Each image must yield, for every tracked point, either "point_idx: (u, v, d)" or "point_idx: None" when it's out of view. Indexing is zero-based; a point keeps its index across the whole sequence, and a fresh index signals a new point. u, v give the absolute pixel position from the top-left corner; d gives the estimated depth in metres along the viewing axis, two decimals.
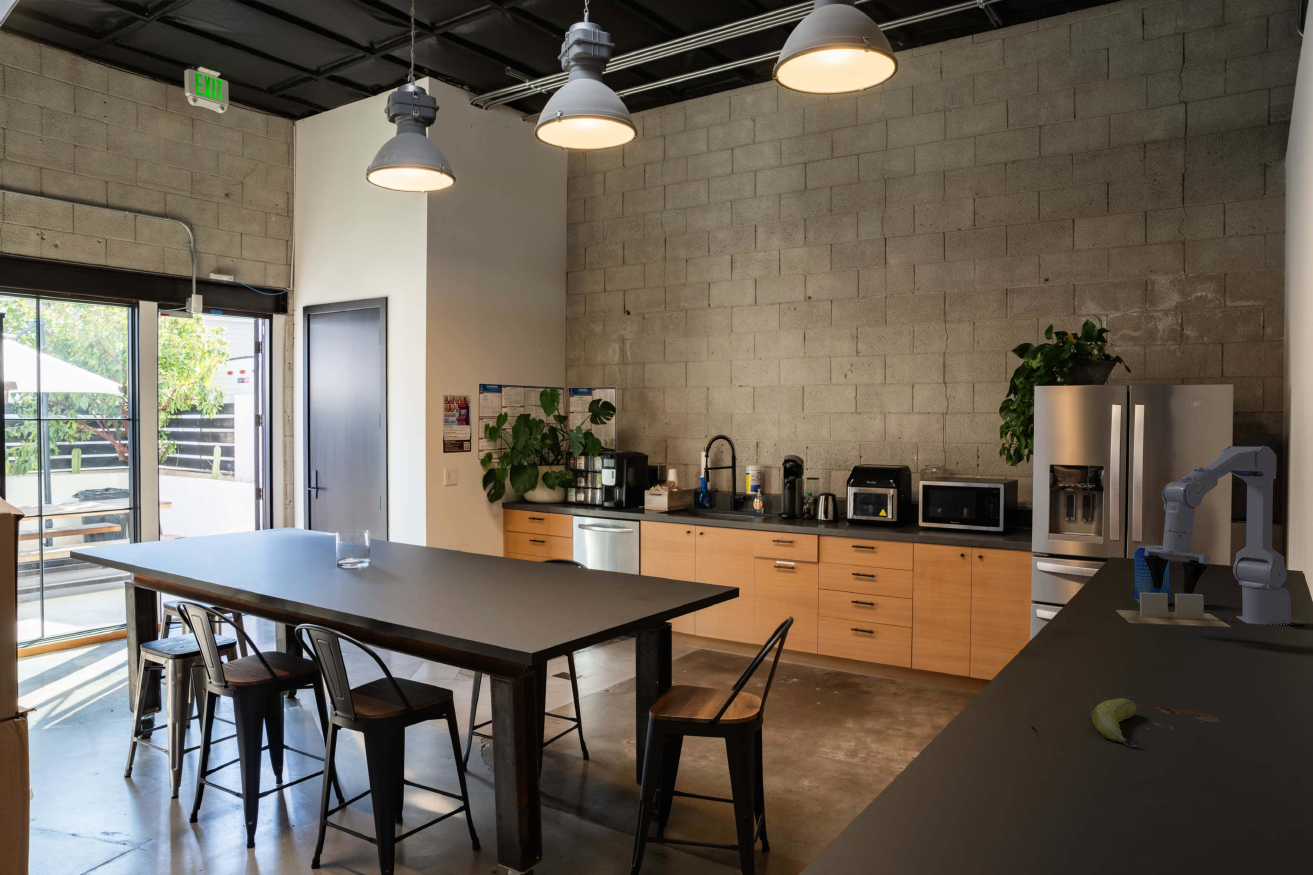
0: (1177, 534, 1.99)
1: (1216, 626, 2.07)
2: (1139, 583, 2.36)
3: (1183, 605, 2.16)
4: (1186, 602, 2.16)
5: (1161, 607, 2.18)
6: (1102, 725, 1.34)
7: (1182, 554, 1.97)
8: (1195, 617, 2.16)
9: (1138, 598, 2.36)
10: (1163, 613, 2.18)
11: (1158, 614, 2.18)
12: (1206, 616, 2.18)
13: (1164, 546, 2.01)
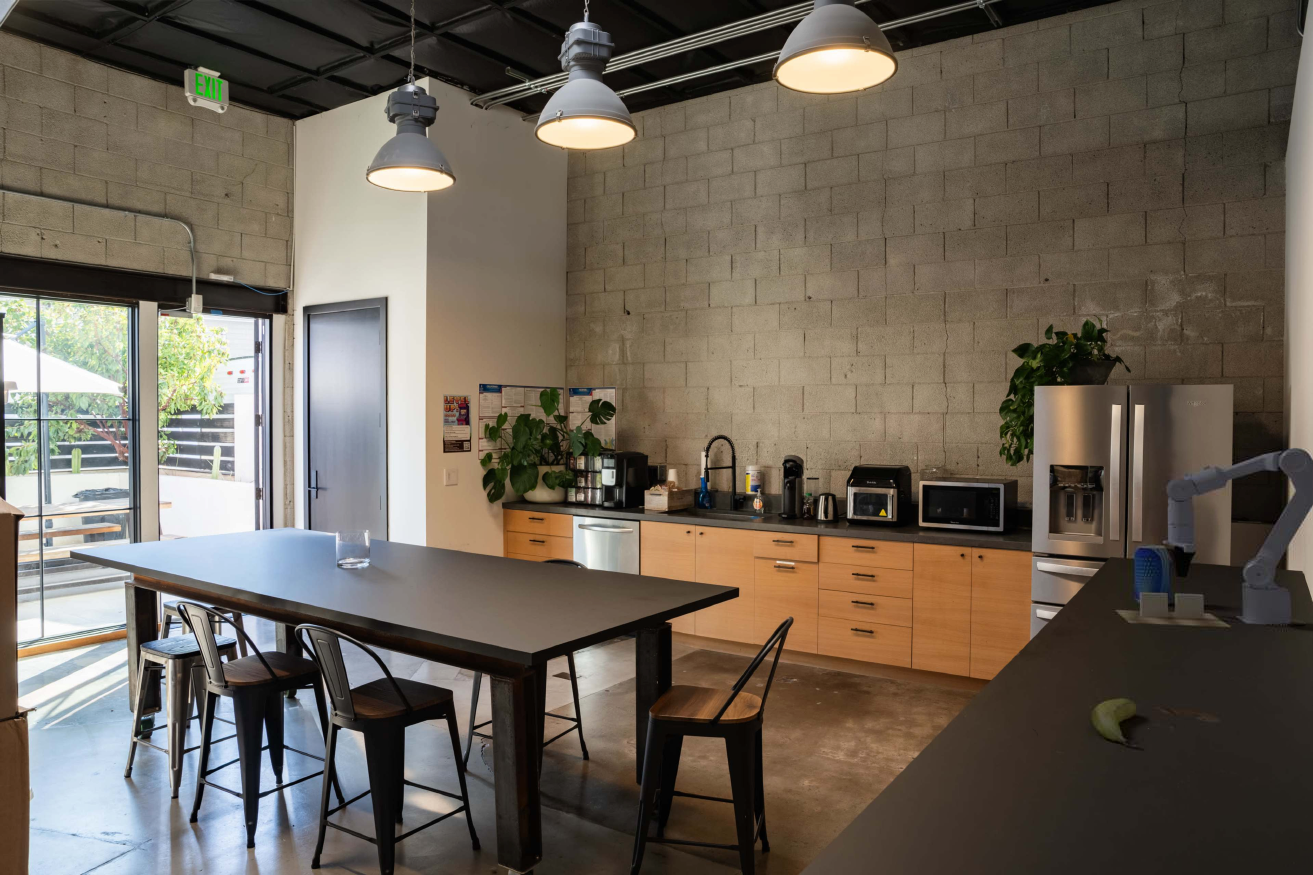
0: (1172, 526, 2.22)
1: (1216, 626, 2.07)
2: (1139, 583, 2.36)
3: (1183, 605, 2.16)
4: (1186, 602, 2.16)
5: (1161, 607, 2.18)
6: (1102, 725, 1.34)
7: (1175, 544, 2.20)
8: (1195, 617, 2.16)
9: (1138, 598, 2.36)
10: (1163, 613, 2.18)
11: (1158, 614, 2.18)
12: (1206, 616, 2.18)
13: None
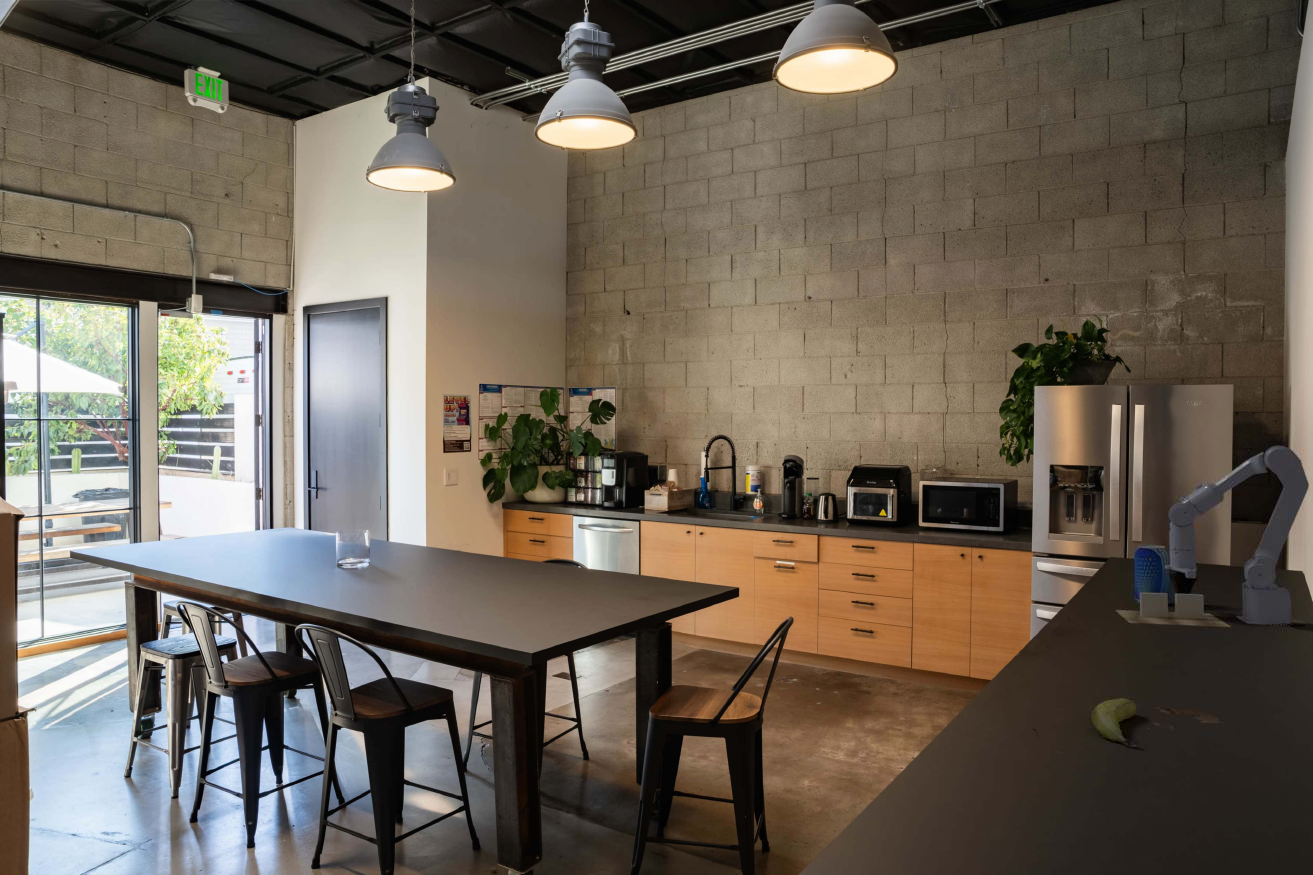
0: (1173, 551, 2.21)
1: (1216, 626, 2.07)
2: (1139, 583, 2.36)
3: (1183, 605, 2.16)
4: (1186, 602, 2.16)
5: (1161, 607, 2.18)
6: (1102, 725, 1.34)
7: (1177, 569, 2.19)
8: (1195, 617, 2.16)
9: (1138, 598, 2.36)
10: (1163, 613, 2.18)
11: (1158, 614, 2.18)
12: (1206, 616, 2.18)
13: None
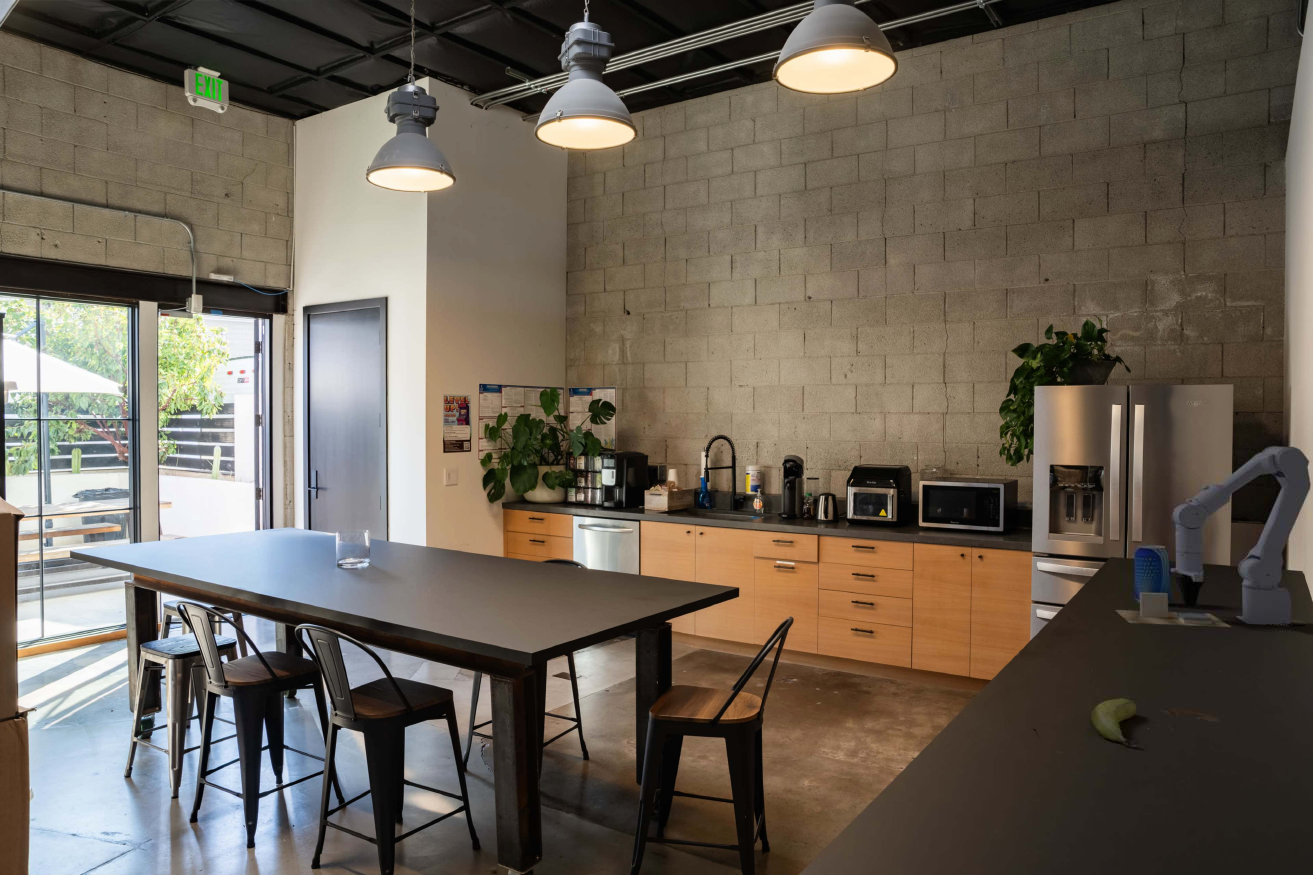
0: (1180, 554, 2.15)
1: (1216, 626, 2.07)
2: (1139, 583, 2.36)
3: None
4: None
5: (1161, 607, 2.18)
6: (1102, 725, 1.34)
7: (1183, 573, 2.14)
8: None
9: (1138, 598, 2.36)
10: (1163, 613, 2.18)
11: (1158, 614, 2.18)
12: None
13: None
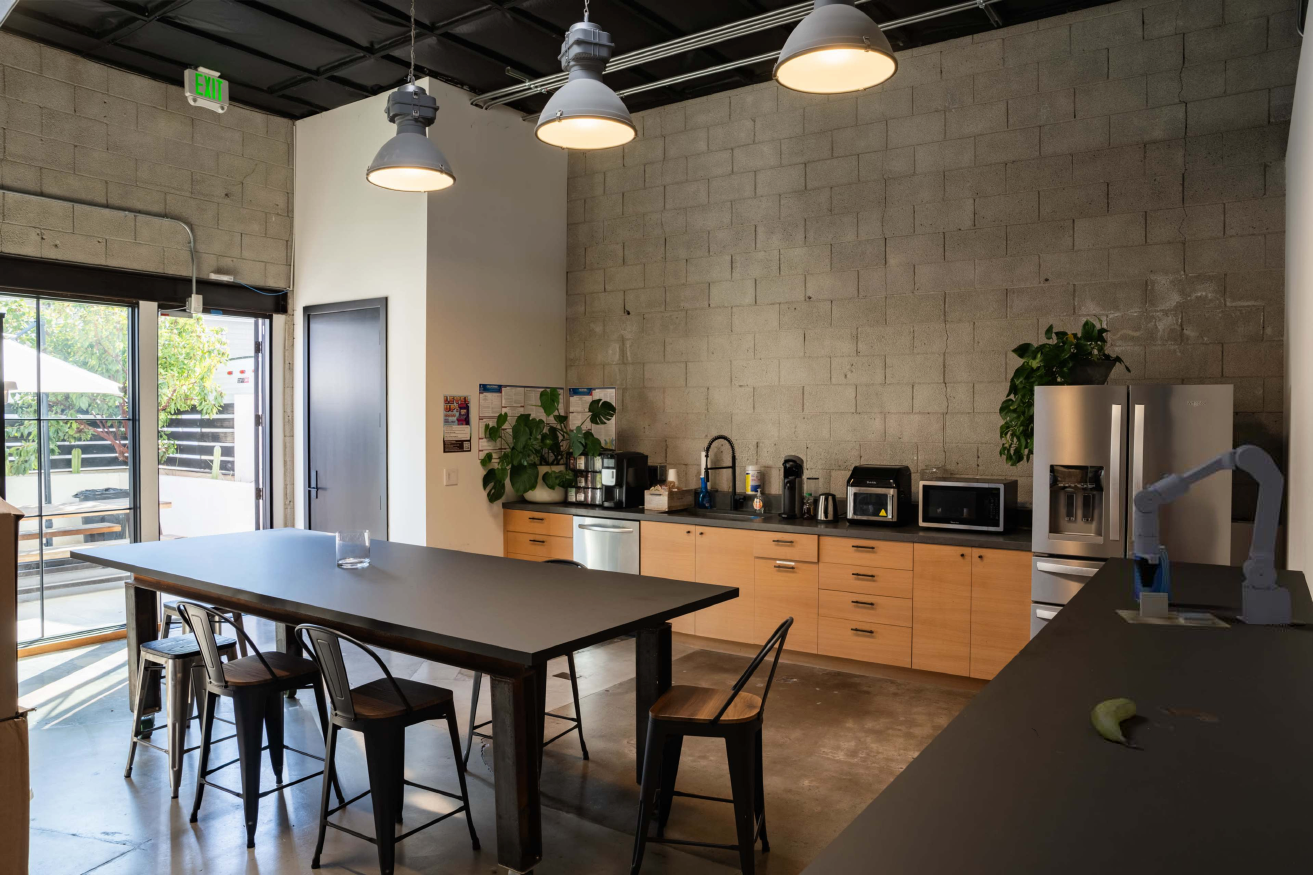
0: (1137, 537, 2.24)
1: (1216, 626, 2.07)
2: (1139, 583, 2.36)
3: None
4: None
5: (1161, 607, 2.18)
6: (1102, 725, 1.34)
7: (1140, 555, 2.22)
8: None
9: (1138, 598, 2.36)
10: (1163, 613, 2.18)
11: (1158, 614, 2.18)
12: None
13: None
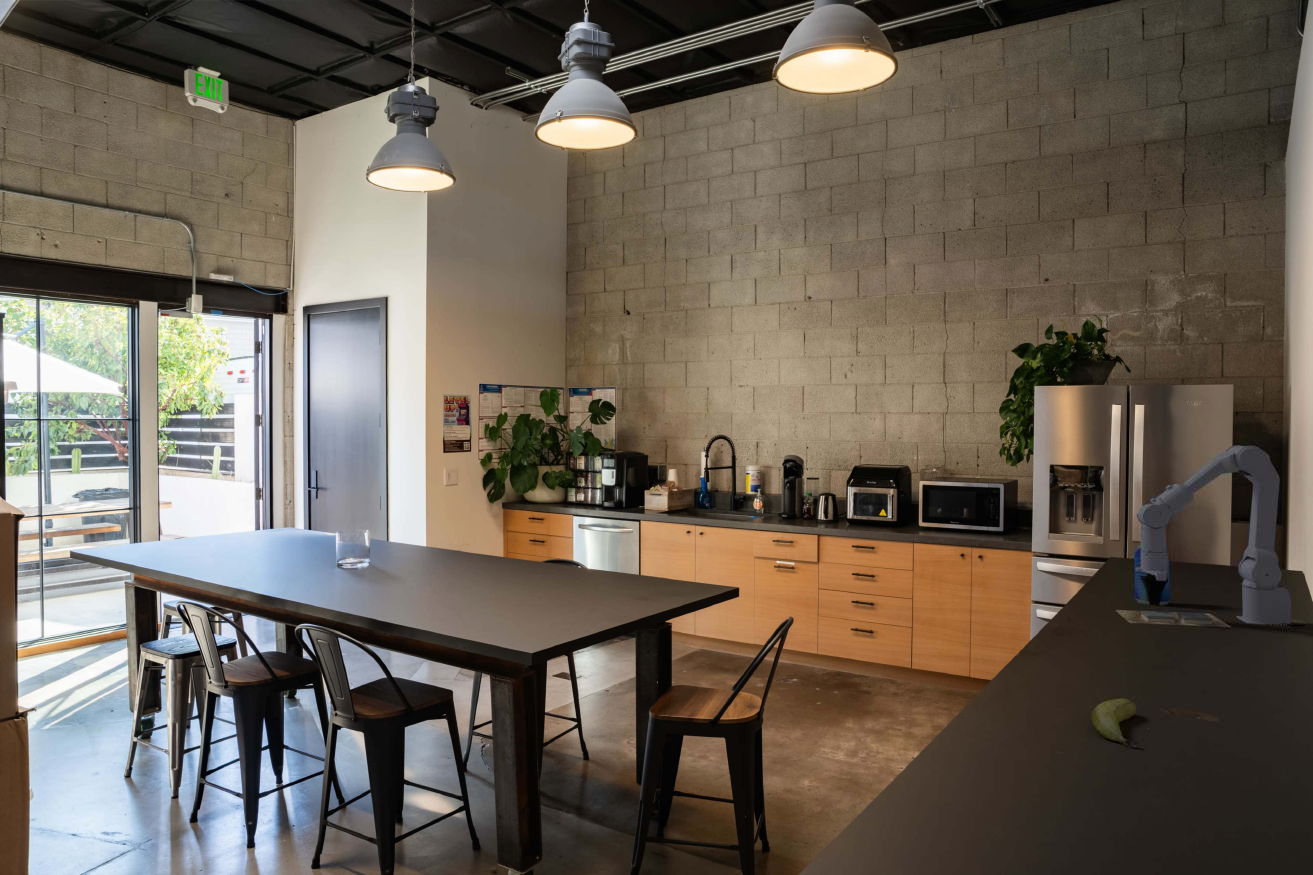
0: (1144, 553, 2.18)
1: (1216, 626, 2.07)
2: (1139, 583, 2.36)
3: None
4: None
5: None
6: (1102, 725, 1.34)
7: (1147, 572, 2.16)
8: None
9: (1138, 598, 2.36)
10: None
11: None
12: None
13: None
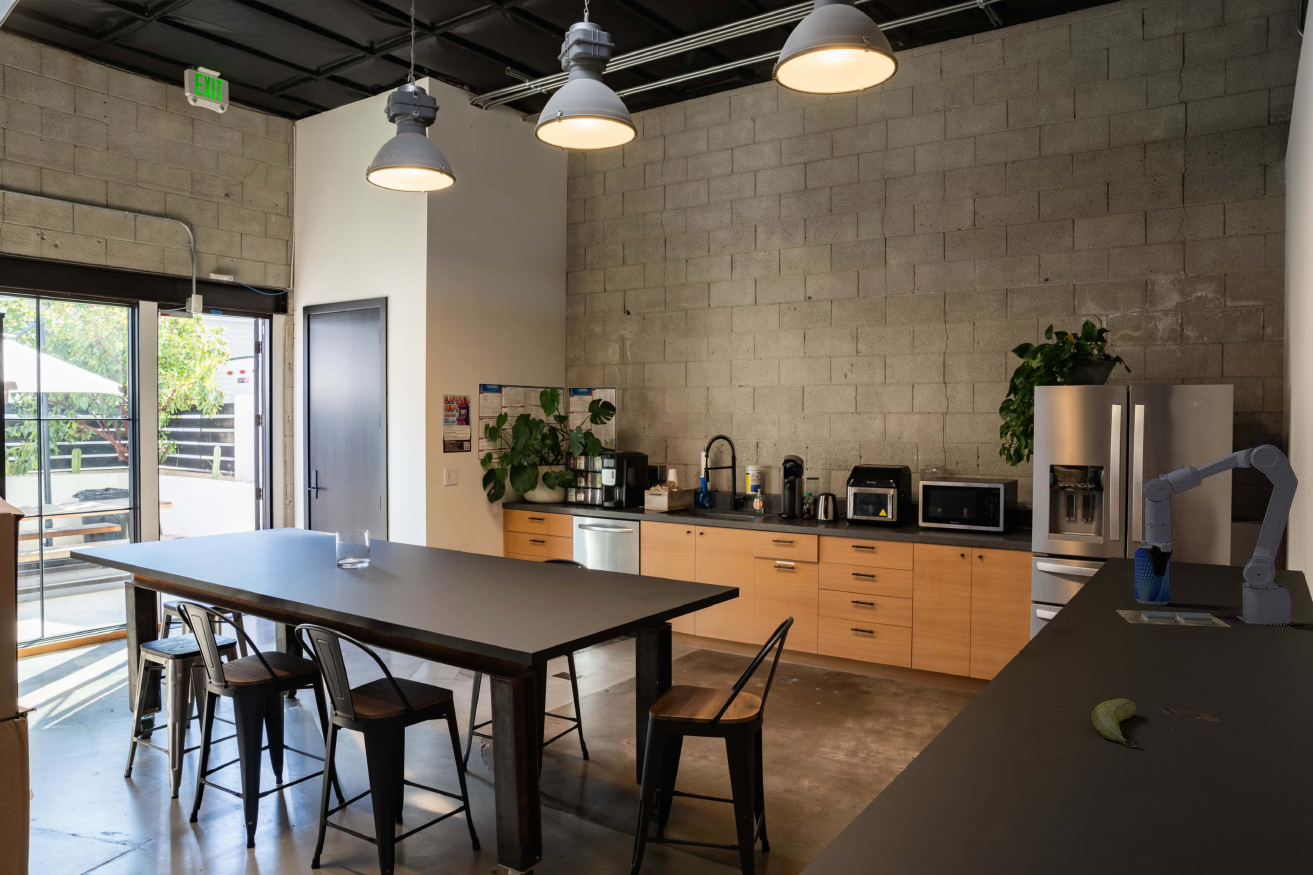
0: (1149, 526, 2.25)
1: (1216, 626, 2.07)
2: (1139, 583, 2.36)
3: None
4: None
5: None
6: (1102, 725, 1.34)
7: (1152, 544, 2.23)
8: None
9: (1138, 598, 2.36)
10: None
11: None
12: None
13: None
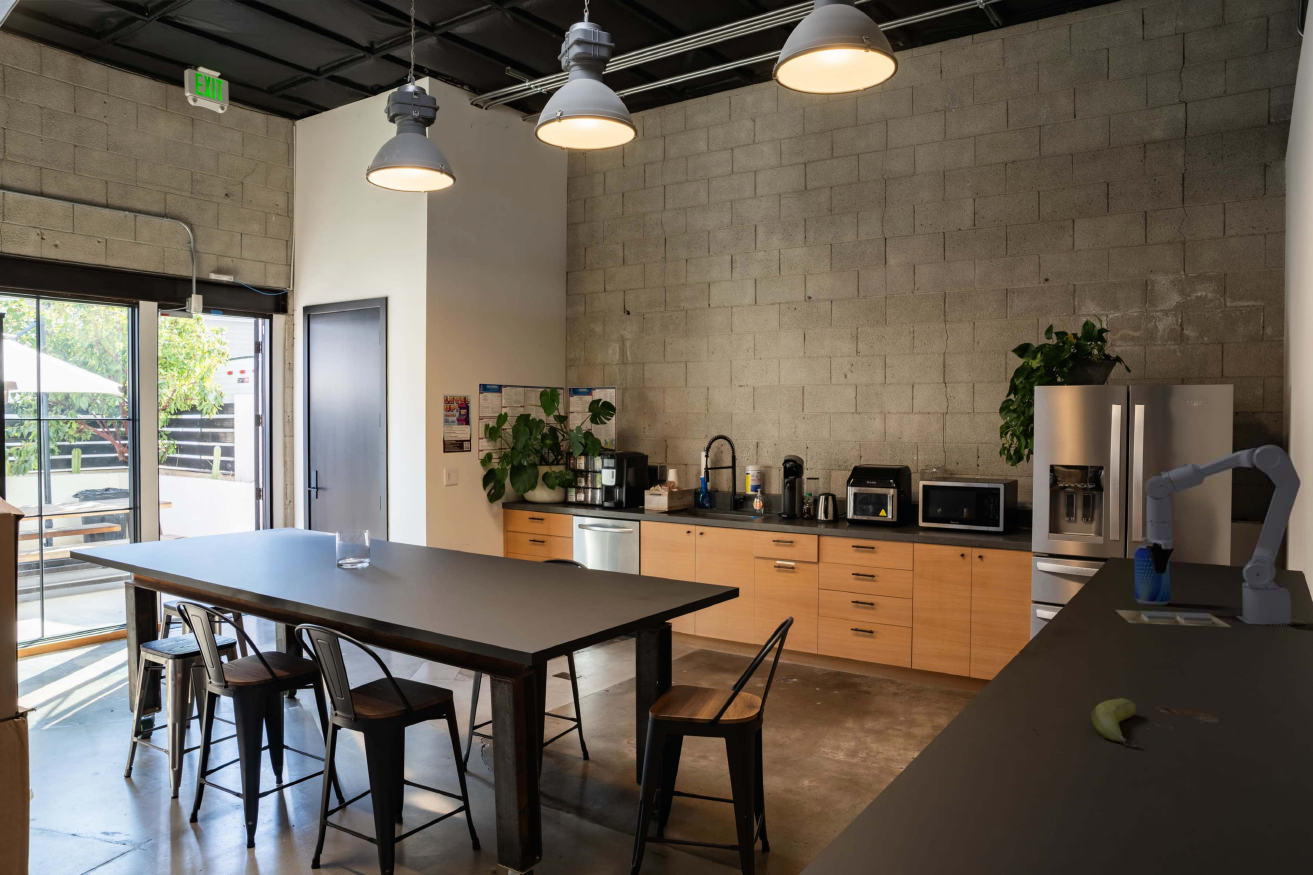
0: (1150, 523, 2.25)
1: (1216, 626, 2.07)
2: (1139, 583, 2.36)
3: None
4: None
5: None
6: (1102, 725, 1.34)
7: (1153, 541, 2.23)
8: None
9: (1138, 598, 2.36)
10: None
11: None
12: None
13: None
